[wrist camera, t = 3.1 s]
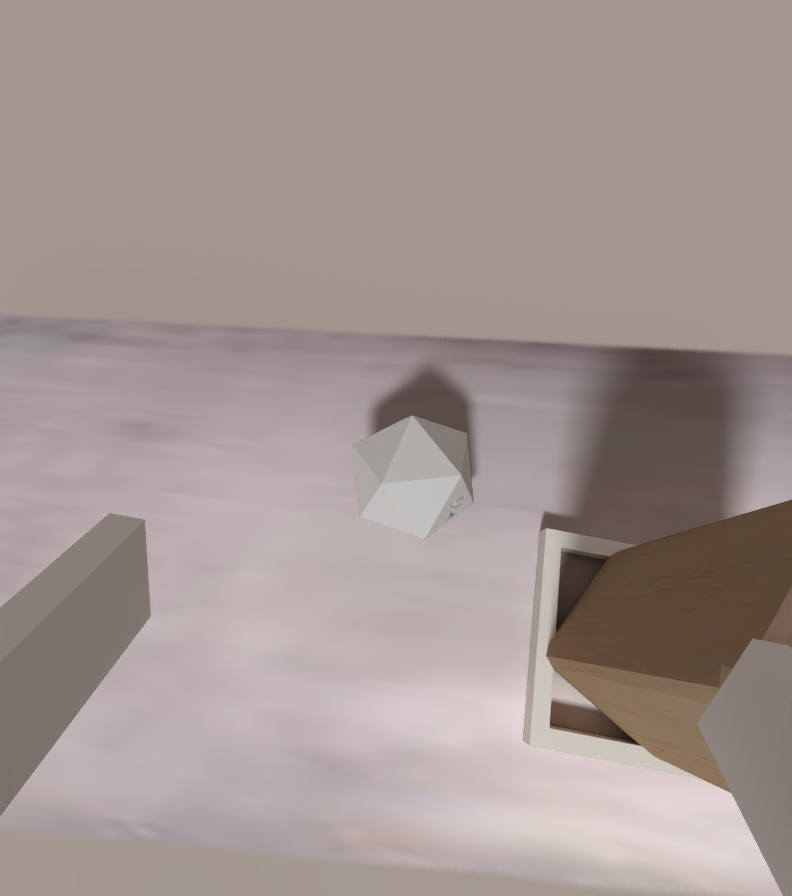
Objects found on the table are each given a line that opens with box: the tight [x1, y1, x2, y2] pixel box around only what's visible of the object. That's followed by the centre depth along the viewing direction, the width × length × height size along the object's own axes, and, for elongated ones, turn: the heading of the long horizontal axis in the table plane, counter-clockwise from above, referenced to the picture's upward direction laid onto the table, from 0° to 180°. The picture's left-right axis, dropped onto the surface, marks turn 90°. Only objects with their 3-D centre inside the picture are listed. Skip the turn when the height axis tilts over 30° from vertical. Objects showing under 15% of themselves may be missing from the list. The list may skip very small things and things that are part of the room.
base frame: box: [523, 528, 701, 779], centre depth 34 cm, size 14×14×2 cm
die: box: [352, 415, 474, 539], centre depth 35 cm, size 8×9×10 cm
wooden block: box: [546, 500, 792, 793], centre depth 26 cm, size 10×10×20 cm
